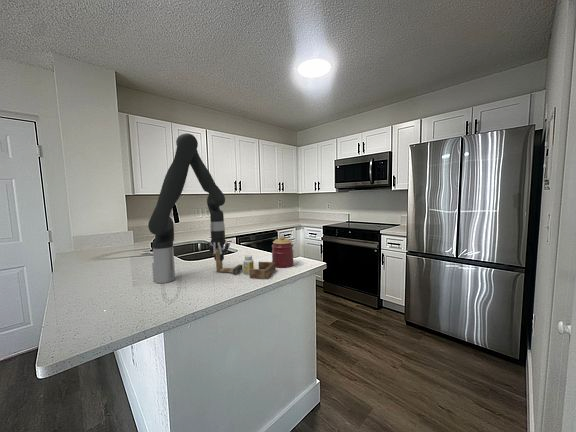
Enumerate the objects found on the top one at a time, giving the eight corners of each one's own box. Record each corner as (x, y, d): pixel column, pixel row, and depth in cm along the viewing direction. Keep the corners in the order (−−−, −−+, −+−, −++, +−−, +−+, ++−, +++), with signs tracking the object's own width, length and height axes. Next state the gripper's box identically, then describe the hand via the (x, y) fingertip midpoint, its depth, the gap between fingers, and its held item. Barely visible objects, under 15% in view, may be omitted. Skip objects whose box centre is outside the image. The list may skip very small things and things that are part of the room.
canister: (284, 260, 157) (283, 233, 155) (298, 264, 147) (297, 235, 145) (267, 265, 148) (266, 236, 147) (281, 269, 138) (280, 238, 137)
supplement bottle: (243, 275, 130) (242, 257, 130) (244, 272, 136) (243, 255, 135) (253, 274, 131) (253, 256, 130) (254, 271, 136) (253, 254, 135)
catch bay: (249, 278, 125) (249, 269, 125) (259, 269, 140) (259, 261, 139) (267, 279, 123) (267, 270, 123) (275, 270, 138) (275, 262, 137)
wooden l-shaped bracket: (213, 273, 134) (212, 249, 132) (221, 268, 141) (220, 246, 140) (236, 274, 131) (235, 250, 129) (242, 269, 138) (241, 247, 137)
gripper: (202, 230, 133) (204, 261, 135) (226, 230, 130) (227, 262, 131) (209, 228, 140) (211, 258, 142) (232, 228, 137) (233, 259, 139)
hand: (219, 260), depth 137 cm, fingers closed on wooden l-shaped bracket, 2 cm apart
